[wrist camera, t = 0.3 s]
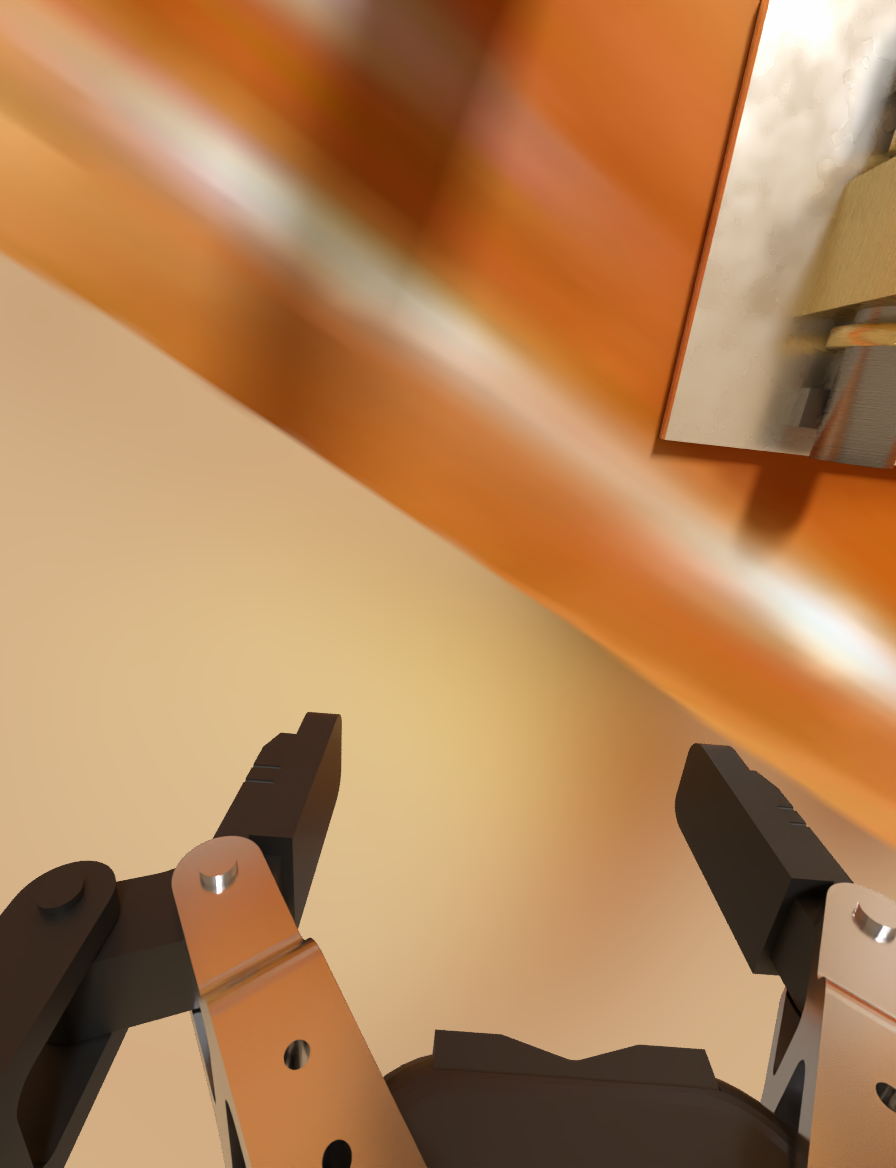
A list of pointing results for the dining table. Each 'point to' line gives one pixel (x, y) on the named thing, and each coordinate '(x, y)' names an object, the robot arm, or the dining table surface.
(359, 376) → the dining table surface
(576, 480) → the dining table surface
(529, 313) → the dining table surface
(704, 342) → the valve
